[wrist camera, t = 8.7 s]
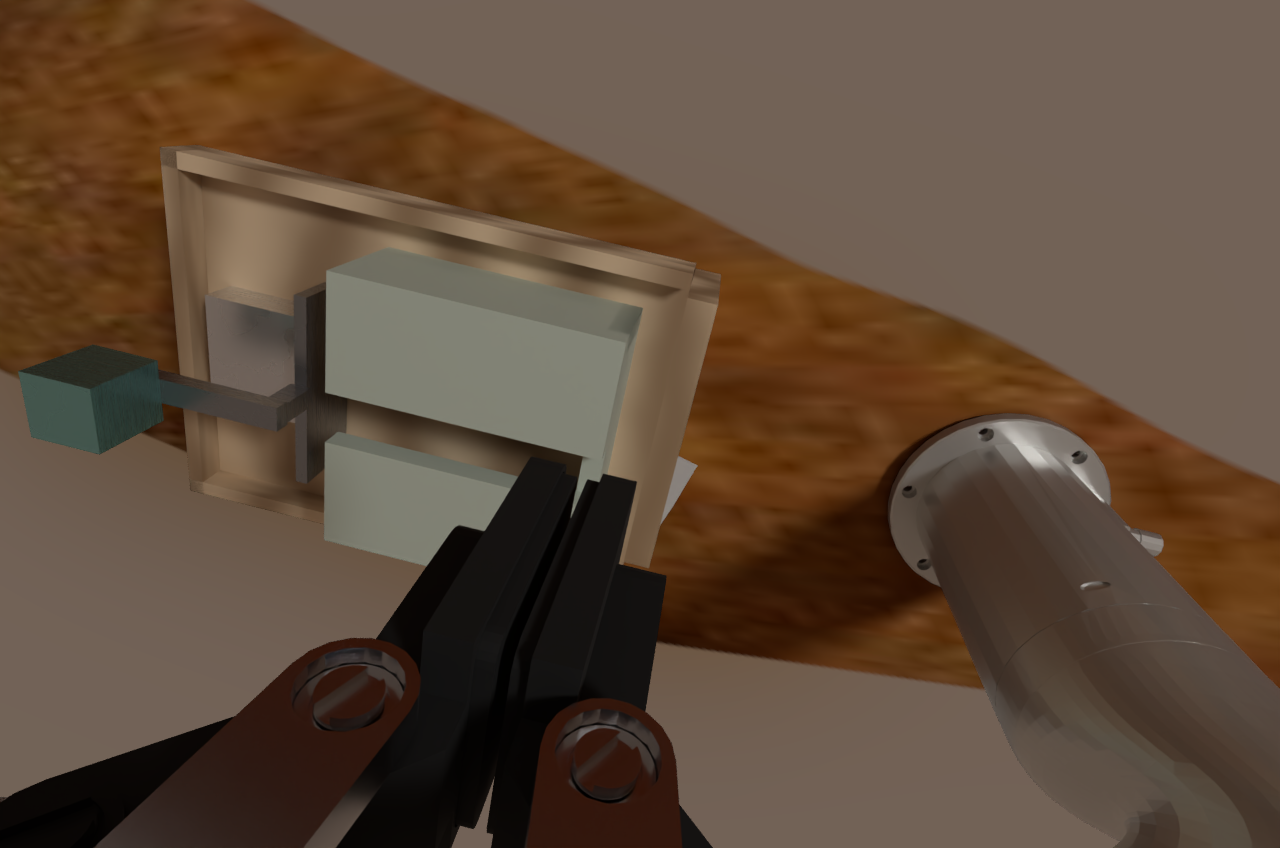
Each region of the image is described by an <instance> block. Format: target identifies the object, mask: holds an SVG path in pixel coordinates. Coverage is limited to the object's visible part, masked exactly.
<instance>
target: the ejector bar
mask: <svg viewBox="0 0 1280 848" xmlns="http://www.w3.org/2000/svg"><path fill="white" fill-rule="evenodd" d="M325 368H326V282H323V283H321V284H319V285H316V286H314V287H311V288H309V289H306V290H304V291H301V292H299V293H296V294H294V370H295V384H289V385H287V386H286V387H284V388H282V389H281V390H279V391H277V392H276V393H274V394H272V395H271V396H269V397H267V396H263V395H259V394H255V393H251V392H247V391H243V390H239V389H235V388H231V387H227V386H223V385H219V384H215V383H211V382H207V381H203V380H199V379H195V378H191V377H187V376H183V375H179V374H175V373H171V372H167V371H163V370H159V369H158V363H157V360H153V359H149V358H145V357H141V356H137V355H133V354H129V353H125V352H121V351H117V350H113V349H109V348H105V347H101V346H97V345H90V346H88V347H85V348H82V349H79V350H76V351H74V352H71V353H68V354H65V355H62V356H60V357H57V358H54V359H51V360H48V361H46V362H43V363H40V364H37V365H34V366H32V367H29V368H26V369H23V370H20V371H18V372H19V377H20V382H21V387H22V392H23V397H24V402H25V407H26V412H27V417H28V422H29V427H30V432H31V437H33V438H37V439H41V440H45V441H49V442H53V443H57V444H61V445H65V446H69V447H73V448H77V449H80V450H84V451H88V452H92V453H96V454H101V453H103V452H105V451H107V450H109V449H111V448H113V447H115V446H116V445H118V444H120V443H122V442H124V441H126V440H128V439H130V438H132V437H133V436H135V435H137V434H139V433H141V432H143V431H145V430H147V429H148V428H150V427H152V426H154V425H156V424H158V423H160V422H162V421H164V420H163V411H162V403H164V404H168V405H172V406H176V407H180V408H184V409H188V410H192V411H196V412H200V413H204V414H208V415H212V416H216V417H220V418H224V419H228V420H232V421H236V422H240V423H244V424H248V425H252V426H256V427H260V428H264V429H268V430H272V431H276V432H278V431H279V430H280V429H282V428H283V427H285V426H286V425H288V422H289V421H291V420H292V419H294V418H295V451H296V481H298V482H302V483H305V484H307V483H309V482H310V481H311V480H312V479H313V478H314V477H316V476H317V475H318V474H319V473H320V472H321V471H323V470H324V469H325V442H326V441H327V440H328V439H330V438H331V437H332V436H333V435H335V434H336V433H337V432H342V433H346V429H347V398H345V397H341V396H337V395H333V394H329V393H325Z"/></svg>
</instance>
